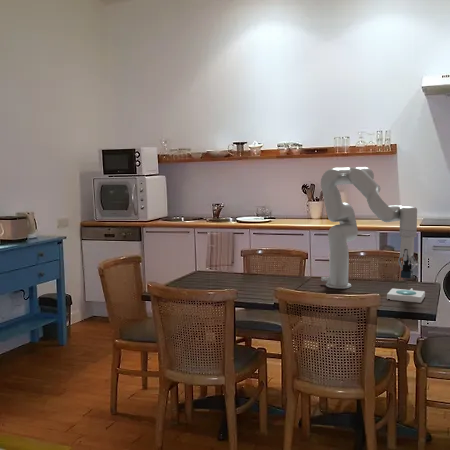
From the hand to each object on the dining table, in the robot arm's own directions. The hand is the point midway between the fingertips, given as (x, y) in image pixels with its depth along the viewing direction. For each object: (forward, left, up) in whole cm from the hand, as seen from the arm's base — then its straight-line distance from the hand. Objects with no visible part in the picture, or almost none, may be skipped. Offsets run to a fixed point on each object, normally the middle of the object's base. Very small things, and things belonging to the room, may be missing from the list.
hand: (407, 272), depth 268 cm
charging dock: (0, +6, -12) cm, 13 cm away
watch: (0, 0, -2) cm, 2 cm away
